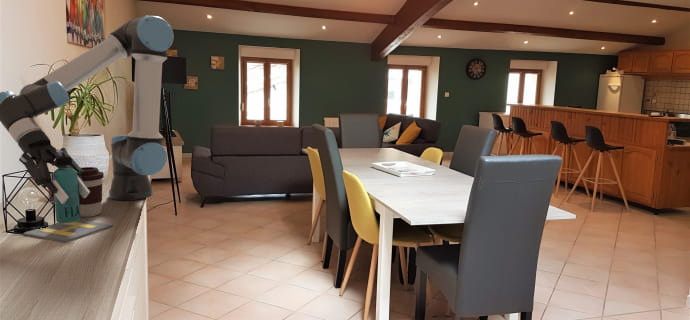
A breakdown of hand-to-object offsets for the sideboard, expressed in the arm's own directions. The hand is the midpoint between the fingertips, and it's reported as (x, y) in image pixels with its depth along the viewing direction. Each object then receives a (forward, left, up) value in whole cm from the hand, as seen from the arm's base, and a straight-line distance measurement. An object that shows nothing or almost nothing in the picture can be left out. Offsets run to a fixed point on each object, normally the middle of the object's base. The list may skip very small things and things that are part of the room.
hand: (76, 197), depth 142 cm
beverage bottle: (0, -4, -9) cm, 9 cm away
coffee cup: (-15, -13, -10) cm, 22 cm away
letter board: (0, -4, -10) cm, 11 cm away
